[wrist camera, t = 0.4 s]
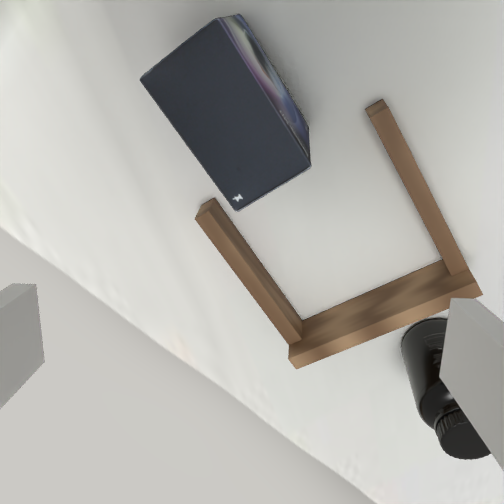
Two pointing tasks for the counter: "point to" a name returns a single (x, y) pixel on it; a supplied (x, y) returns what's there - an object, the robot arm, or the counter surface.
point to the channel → (366, 305)
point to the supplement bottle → (438, 392)
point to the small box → (232, 111)
